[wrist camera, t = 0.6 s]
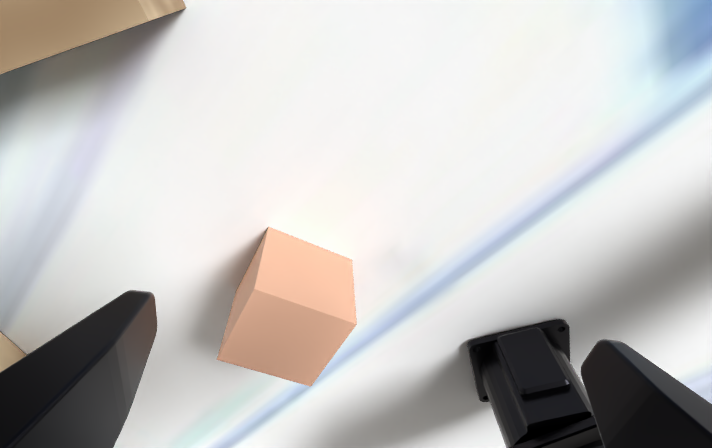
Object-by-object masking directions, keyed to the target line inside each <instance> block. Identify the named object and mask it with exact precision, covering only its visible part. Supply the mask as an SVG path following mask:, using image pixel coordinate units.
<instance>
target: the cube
mask: <svg viewBox="0 0 712 448" xmlns="http://www.w3.org/2000/svg"><path fill="white" fill-rule="evenodd" d="M356 324H357V323H356V309H355V295H354V282H353V268H352V260H351V259H349V258H346V257H344V256H341V255H339V254H336V253H334V252H331V251H329V250H326V249H324V248H321V247H318V246H316V245H313V244H311V243H308V242H306V241H303V240H301V239H298V238H296V237H293V236H291V235H288V234H286V233H283V232H281V231H278V230H276V229H273V228H270V227H268V229H267V231H266V233H265V235H264V237H263V239H262V241H261V243H260V245H259V247H258V249H257V251H256V253H255V255H254V257H253V259H252V261H251V263H250V265H249V267H248V269H247V271H246V273H245V275H244V277H243V279H242V281H241V283H240V285H239V287H238V288H237V290H236V294H235V297H234V301H233V304H232V308H231V311H230V315H229V318H228V322H227V325H226V329H225V332H224V336H223V339H222V343H221V346H220V350H219V353H218V357H217V360H220V361H223V362H227V363H230V364H234V365H237V366H241V367H244V368H248V369H251V370H255V371H258V372H262V373H266V374H269V375H273V376H276V377H280V378H283V379H287V380H290V381H294V382H297V383H301V384H304V385H308V386H312V384H313V383H314V382H315V380H316V379H317V377H318V376H319V375H320V373H321V372H322V371H323V369H324V368H325V367H326V365H327V364H328V363H329V361H330V360H331V358H332V357H333V356H334V354H335V353H336V352H337V350H338V349H339V348H340V346H341V345H342V343H343V342H344V341H345V339H346V338H347V337H348V335H349V334H350V333H351V331H352V330H353V329H354V327H355V326H356Z"/></svg>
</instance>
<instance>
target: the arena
mask: <svg viewBox="0 0 712 448" xmlns="http://www.w3.org/2000/svg"><path fill="white" fill-rule="evenodd" d="M185 8H186V6H185V4H184V2H183V0H0V74H3V73H6V72H8V71H11V70H14V69H17V68H20V67H22V66H25V65H28V64H31V63H34V62H36V61H39V60H42V59H45V58H48V57H50V56H53V55H56V54H59V53H62V52H64V51H67V50H70V49H73V48H76V47H78V46H81V45H84V44H87V43H90V42H93V41H95V40H98V39H101V38H104V37H107V36H109V35H112V34H115V33H118V32H121V31H123V30H126V29H129V28H132V27H135V26H137V25H140V24H143V23H146V22H149V21H151V20H154V19H157V18H160V17H163V16H165V15H168V14H171V13H174V12H177V11H179V10H182V9H185ZM25 356H27V355H26V354H25V353H24V352H22V351H21V350H20V349H19V348H18V347H17V346H16V345H15V344H13V343H12V342H11V341H10V340H9V339H8V338H7V337H6V336H5V335H3V334H2V333H1V332H0V372H2V371H3V370H5V369H6V368H8V367H9V366H11V365H12V364H14V363H16V362H17V361H19V360H20V359H22V358H23V357H25Z"/></svg>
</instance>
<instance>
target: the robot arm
mask: <svg viewBox="0 0 712 448" xmlns="http://www.w3.org/2000/svg"><path fill="white" fill-rule="evenodd" d="M156 332H157V317H156V306H155V298H154V295H153V294H152V293H151V292H145V291H136V290H130V291H127V292H125V293H123V294H122V295H120V296H119V297H117V298H116V299H114V300H112V301H111V302H109V303H108V304H106V305H105V306H103V307H101V308H100V309H98V310H97V311H95V312H94V313H92V314H91V315H89V316H87V317H86V318H84V319H83V320H81V321H80V322H78V323H76V324H75V325H73V326H72V327H70V328H69V329H67V330H66V331H64V332H62V333H61V334H59V335H58V336H56V337H55V338H53V339H51V340H50V341H48V342H47V343H45V344H44V345H42V346H41V347H39V348H37V349H36V350H34V351H33V352H31V353H30V354H28V355H27V356H25V357H23V358H22V359H20V360H19V361H17V362H16V363H14V364H12V365H11V366H9V367H8V368H6V369H5V370H3V371H2V372H0V448H113V447H114V445H115V442H116V440H117V438H118V436H119V434H120V432H121V430H122V428H123V425H124V423H125V421H126V419H127V416H128V414H129V411H130V408H131V406H132V403H133V400H134V397H135V394H136V391H137V388H138V385H139V383H140V380H141V377H142V374H143V371H144V368H145V365H146V362H147V359H148V357H149V354H150V351H151V348H152V345H153V342H154V339H155V336H156ZM467 347H468V352H469V356H470V361H471V366H472V370H473V375H474V379H475V384H476V388H477V393H478V396H479V399H480V401H482V402H488V401H490V403H491V406H492V409H493V412H494V414H495V417H496V420H497V423H498V425H499V428H500V431H501V434H502V436H503V439H504V442H505V445H506V447H507V448H712V404H711V403H709V402H708V401H706V400H705V399H703V398H702V397H701V396H699V395H698V394H696V393H695V392H693V391H692V390H691V389H689V388H688V387H686V386H685V385H683V384H682V383H681V382H679V381H678V380H676V379H675V378H673V377H672V376H671V375H669V374H668V373H666V372H665V371H663V370H662V369H660V368H659V367H658V366H656V365H655V364H653V363H652V362H650V361H649V360H648V359H646V358H645V357H643V356H642V355H640V354H639V353H638V352H636V351H635V350H633V349H632V348H630V347H629V346H628V345H626V344H625V343H623V342H620V341H615V340H606V339H603V340H600V341H598V342H597V343H596V345H595V346H594V348H593V349H592V350H591V352H590V353H589V355H588V356H587V358H586V359H585V361H584V362H583V364H582V367H581V376H582V380H583V383H584V385H583V384H582V382H581V380H580V379H579V377H578V375H577V374H576V372H575V370H574V369H573V367H572V365H571V364H570V340H569V325H568V324H567V322H566V321H565V320H563V319H558V320H554V321H550V322H546V323H542V324H538V325H533V326H529V327H525V328H521V329H517V330H513V331H508V332H504V333H500V334H496V335H492V336H488V337H483V338H479V339H475V340H472V341H470V342H469V343H468V344H467ZM584 386H585V387H584Z"/></svg>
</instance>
